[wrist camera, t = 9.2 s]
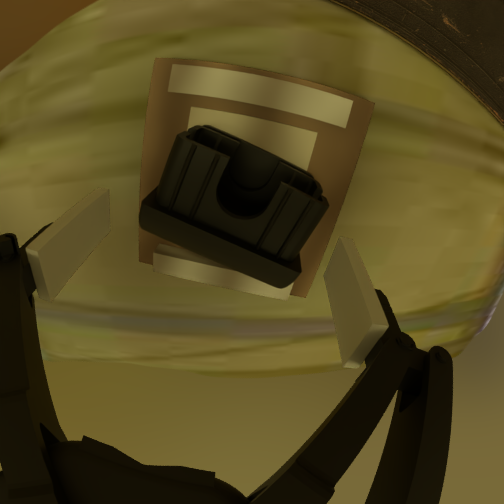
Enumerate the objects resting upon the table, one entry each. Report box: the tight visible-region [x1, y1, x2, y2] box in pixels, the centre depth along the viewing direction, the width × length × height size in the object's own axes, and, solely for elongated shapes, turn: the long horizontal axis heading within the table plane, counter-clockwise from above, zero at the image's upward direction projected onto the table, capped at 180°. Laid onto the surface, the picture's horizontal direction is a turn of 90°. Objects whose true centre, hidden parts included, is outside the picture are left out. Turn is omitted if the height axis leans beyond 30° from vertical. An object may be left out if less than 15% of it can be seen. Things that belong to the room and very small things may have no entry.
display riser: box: [139, 58, 375, 301], centre depth 22 cm, size 16×18×4 cm
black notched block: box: [139, 125, 329, 289], centre depth 18 cm, size 10×7×7 cm
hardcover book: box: [330, 0, 504, 126], centre depth 12 cm, size 16×23×2 cm
